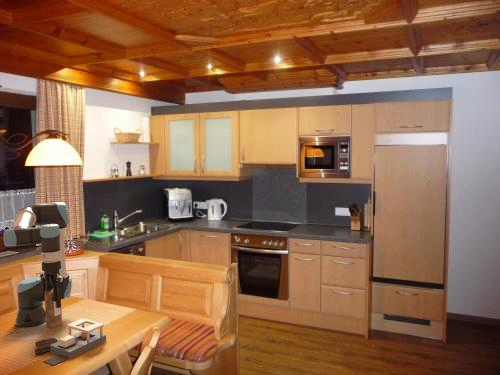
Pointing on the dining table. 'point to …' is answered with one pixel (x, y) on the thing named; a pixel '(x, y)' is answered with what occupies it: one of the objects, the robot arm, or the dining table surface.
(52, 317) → the brown rectangular block
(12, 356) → the dining table surface
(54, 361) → the pad
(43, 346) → the rock
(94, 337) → the two-tier post stand
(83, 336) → the plunger
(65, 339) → the on button
